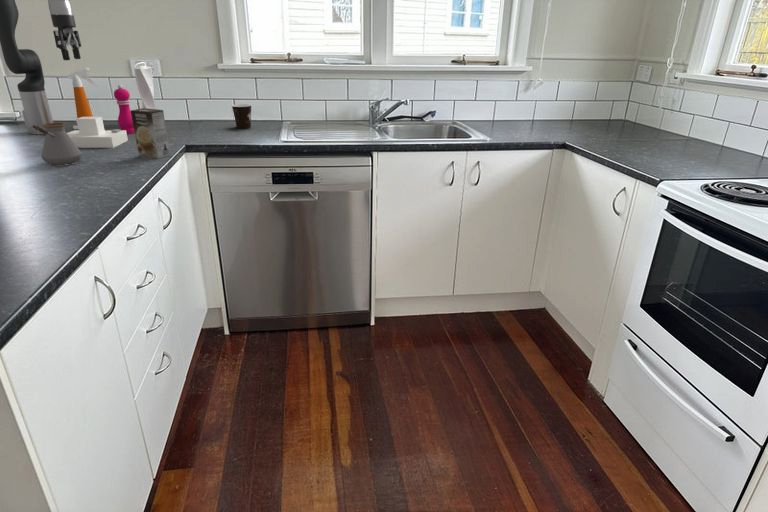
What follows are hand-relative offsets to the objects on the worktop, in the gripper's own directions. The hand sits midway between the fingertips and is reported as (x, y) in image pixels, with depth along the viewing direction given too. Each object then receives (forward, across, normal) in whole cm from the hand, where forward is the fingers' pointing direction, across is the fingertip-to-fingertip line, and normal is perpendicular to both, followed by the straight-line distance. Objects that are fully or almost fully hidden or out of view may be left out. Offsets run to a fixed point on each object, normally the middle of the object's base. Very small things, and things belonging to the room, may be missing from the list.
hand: (72, 59), depth 194 cm
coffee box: (+30, +35, +38) cm, 60 cm away
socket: (+30, +14, +8) cm, 34 cm away
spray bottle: (+30, -12, -4) cm, 33 cm away
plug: (+28, +14, +7) cm, 32 cm away
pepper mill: (+30, -10, +12) cm, 34 cm away
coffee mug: (+30, -22, +58) cm, 69 cm away
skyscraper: (+31, -29, +15) cm, 45 cm away
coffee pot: (+30, +50, +13) cm, 60 cm away
